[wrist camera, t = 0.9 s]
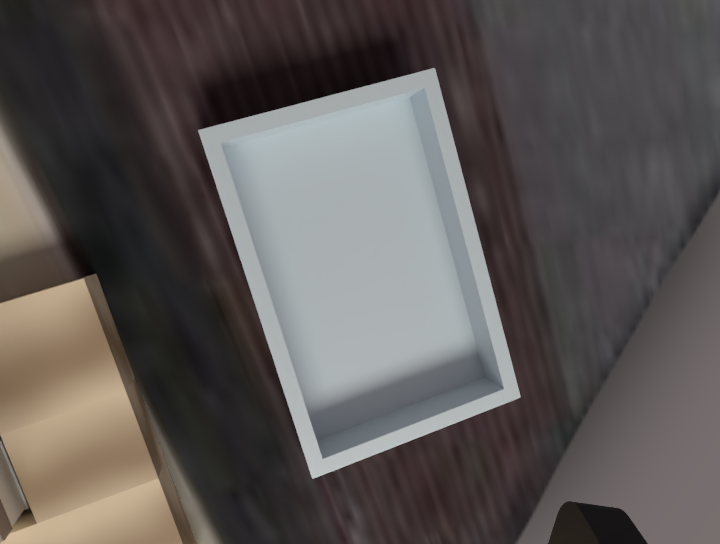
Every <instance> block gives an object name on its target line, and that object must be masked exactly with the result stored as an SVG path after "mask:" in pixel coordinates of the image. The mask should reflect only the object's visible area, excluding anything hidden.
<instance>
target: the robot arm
mask: <svg viewBox="0 0 720 544" xmlns="http://www.w3.org/2000/svg"><path fill="white" fill-rule="evenodd" d="M548 544H647V542H646V541H645V539H644V538H643V536H642V535H641V534H640V532H639V531H638V529H637V528H636V526H635V525H634V524H633V522H632V521H631V519H630V518H629V516H628V515H627V514H626V513H625V512H624V511H623V510H621V509H619V508H613V507H605V506H598V505H591V504H584V503H577V502H566V503H564V504H563V505H562V507H561V508H560V510H559V512H558V515H557V517H556V521H555V524H554V527H553V530H552V533H551V537H550V540H549V543H548Z"/></svg>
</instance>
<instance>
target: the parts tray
mask: <svg viewBox="0 0 720 544" xmlns="http://www.w3.org/2000/svg"><path fill="white" fill-rule="evenodd" d="M198 132H199V135H200V138H201V141H202V144H203V147H204V150H205V153H206V156H207V159H208V162H209V165H210V168H211V171H212V174H213V177H214V180H215V183H216V187H217V190H218V193H219V196H220V199H221V202H222V205H223V208H224V211H225V214H226V217H227V220H228V223H229V226H230V229H231V232H232V235H233V238H234V241H235V244H236V248H237V251H238V254H239V257H240V260H241V263H242V266H243V269H244V272H245V275H246V278H247V281H248V284H249V287H250V290H251V293H252V296H253V299H254V302H255V305H256V309H257V312H258V315H259V318H260V321H261V324H262V327H263V330H264V333H265V336H266V339H267V342H268V345H269V348H270V351H271V354H272V357H273V360H274V363H275V366H276V369H277V373H278V376H279V379H280V382H281V385H282V388H283V391H284V394H285V397H286V400H287V403H288V406H289V409H290V412H291V415H292V418H293V421H294V424H295V427H296V430H297V434H298V437H299V440H300V443H301V446H302V449H303V452H304V455H305V458H306V461H307V464H308V467H309V470H310V473H311V476H312V479H314V478H316V477H319V476H321V475H324V474H326V473H329V472H332V471H334V470H337V469H339V468H342V467H344V466H347V465H349V464H352V463H354V462H357V461H360V460H362V459H365V458H367V457H370V456H372V455H375V454H377V453H380V452H383V451H385V450H388V449H390V448H393V447H395V446H398V445H400V444H403V443H406V442H408V441H411V440H413V439H416V438H418V437H421V436H423V435H426V434H429V433H431V432H434V431H436V430H439V429H441V428H444V427H446V426H449V425H452V424H454V423H457V422H459V421H462V420H464V419H467V418H469V417H472V416H474V415H477V414H480V413H482V412H485V411H487V410H490V409H492V408H495V407H497V406H500V405H503V404H505V403H508V402H510V401H513V400H515V399H518V398H520V393H519V389H518V385H517V381H516V377H515V374H514V370H513V366H512V362H511V358H510V354H509V351H508V347H507V343H506V339H505V335H504V331H503V328H502V324H501V320H500V316H499V312H498V308H497V304H496V301H495V297H494V293H493V289H492V285H491V281H490V278H489V274H488V270H487V266H486V262H485V258H484V255H483V251H482V247H481V243H480V239H479V235H478V232H477V228H476V224H475V220H474V216H473V212H472V208H471V205H470V201H469V197H468V193H467V189H466V185H465V182H464V178H463V174H462V170H461V166H460V162H459V159H458V155H457V151H456V147H455V143H454V139H453V136H452V132H451V128H450V124H449V120H448V116H447V113H446V109H445V105H444V101H443V97H442V93H441V89H440V86H439V82H438V78H437V74H436V70H435V68H432V69H429V70H425V71H421V72H417V73H413V74H410V75H406V76H402V77H398V78H394V79H391V80H387V81H383V82H379V83H375V84H372V85H368V86H364V87H360V88H356V89H353V90H349V91H345V92H341V93H337V94H334V95H330V96H326V97H322V98H318V99H315V100H311V101H307V102H303V103H299V104H296V105H292V106H288V107H284V108H280V109H277V110H273V111H269V112H265V113H262V114H258V115H254V116H250V117H246V118H243V119H239V120H235V121H231V122H227V123H224V124H220V125H216V126H212V127H208V128H205V129H201V130H198Z"/></svg>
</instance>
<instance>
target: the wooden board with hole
mask: <svg viewBox="0 0 720 544" xmlns="http://www.w3.org/2000/svg"><path fill="white" fill-rule="evenodd" d="M0 436H1V438H2V440H3V443H4V445H5V448H6V450H7V452H8V455H9V457H10V460H11V462H12V465H13V467H14V469H15V472H16V474H17V477H18V479H19V481H20V484H21V486H22V489H23V491H24V493H25V496H26V498H27V501H28V503H29V506H30V507H29V509H26V510H24V511H23V512H22V514H21V515H20V516H19V518H18V519H17V521H16V522H15V523H14V525H13V526H12V528H13V529H12V530H11V532H10V533H9V535H8V536H7V538H6V539H5V540H4V541H2V542H1V543H0V544H196V542H195V540H194V537H193V534H192V532H191V529H190V526H189V523H188V521H187V518H186V515H185V513H184V510H183V507H182V504H181V502H180V499H179V496H178V494H177V491H176V488H175V485H174V483H173V480H172V477H171V475H170V472H169V469H168V466H167V464H166V461H165V458H164V456H163V453H162V450H161V448H160V445H159V442H158V439H157V437H156V434H155V431H154V429H153V426H152V423H151V420H150V418H149V415H148V412H147V410H146V407H145V404H144V401H143V399H142V396H141V393H140V391H139V388H138V385H137V383H136V380H135V377H134V374H133V372H132V369H131V366H130V364H129V361H128V358H127V355H126V353H125V350H124V347H123V345H122V342H121V339H120V336H119V334H118V331H117V328H116V326H115V323H114V320H113V317H112V315H111V312H110V309H109V307H108V304H107V301H106V299H105V296H104V293H103V290H102V288H101V285H100V282H99V280H98V277H97V274H93V275H89V276H86V277H83V278H79V279H76V280H73V281H69V282H66V283H63V284H59V285H56V286H53V287H49V288H46V289H43V290H39V291H36V292H33V293H29V294H26V295H23V296H19V297H16V298H13V299H9V300H6V301H3V302H0Z"/></svg>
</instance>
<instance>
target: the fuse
mask: <svg viewBox="0 0 720 544" xmlns="http://www.w3.org/2000/svg"><path fill="white" fill-rule="evenodd" d="M29 507H30V506H29V503H28V501H27V498H26V496H25V493H24V491H23V489H22V486H21V484H20V481H19V479H18V477H17V474H16V472H15V469H14V467H13V465H12V462H11V460H10V457H9V455H8V452H7V450H6V448H5V445H4V443H3V440H2V438H1V436H0V543H1V542H2V541H4V540H5V539H6V538H7V536H8V535H9V533H10V532H11V530H12V529H13V528H12V526H13V525H14V523H15V522H16V521H17V519H18V518H19V516H20V515H21V514H22V512H23V511H24V510H26V509H29Z"/></svg>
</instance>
